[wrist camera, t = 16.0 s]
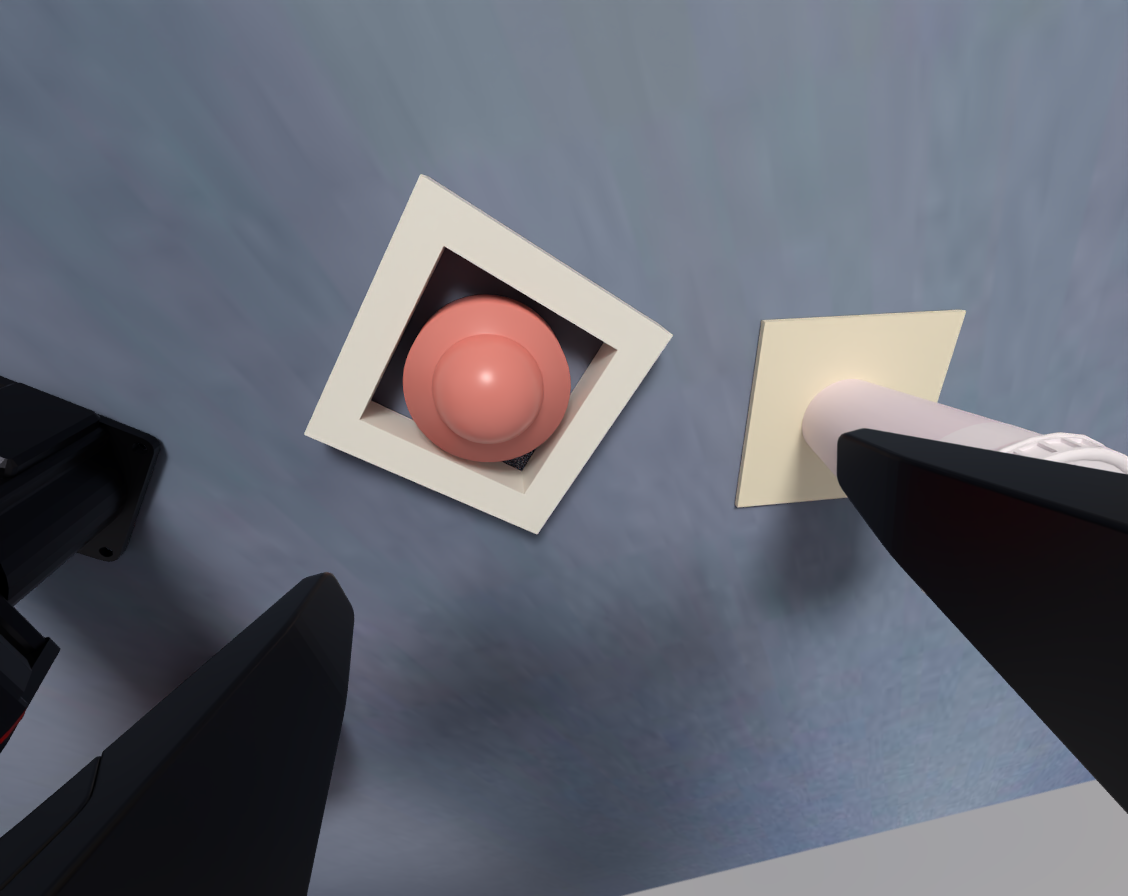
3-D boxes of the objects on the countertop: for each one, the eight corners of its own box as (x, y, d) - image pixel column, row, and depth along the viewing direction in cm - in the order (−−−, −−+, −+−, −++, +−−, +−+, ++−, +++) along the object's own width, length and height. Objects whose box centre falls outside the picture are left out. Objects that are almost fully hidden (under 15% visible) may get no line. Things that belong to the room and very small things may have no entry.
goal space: (734, 504, 25) (737, 507, 25) (761, 320, 21) (764, 322, 21) (904, 489, 26) (908, 491, 26) (960, 309, 22) (966, 311, 22)
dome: (517, 462, 22) (522, 513, 19) (385, 399, 20) (363, 443, 17) (592, 344, 20) (613, 375, 17) (454, 262, 18) (444, 278, 15)
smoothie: (817, 501, 25) (1127, 795, 13) (746, 420, 23) (1046, 689, 10) (930, 413, 24) (1402, 651, 12) (868, 316, 21) (1385, 487, 9)
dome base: (534, 509, 24) (537, 534, 22) (320, 414, 21) (303, 434, 19) (657, 323, 21) (672, 335, 19) (427, 176, 18) (420, 173, 16)
